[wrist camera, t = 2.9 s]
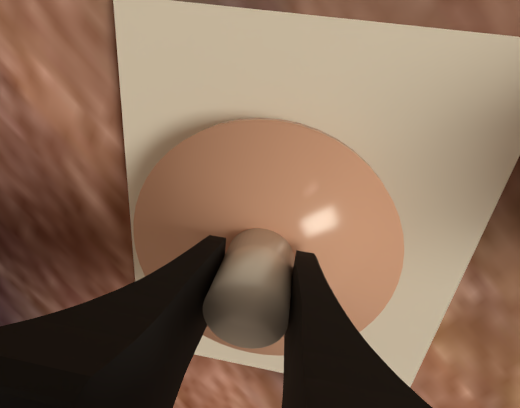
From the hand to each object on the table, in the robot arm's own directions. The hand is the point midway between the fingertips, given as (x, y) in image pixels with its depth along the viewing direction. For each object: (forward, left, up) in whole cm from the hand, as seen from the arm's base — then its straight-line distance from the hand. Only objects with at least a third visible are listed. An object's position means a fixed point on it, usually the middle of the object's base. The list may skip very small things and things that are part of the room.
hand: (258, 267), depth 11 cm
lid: (0, 0, -1) cm, 1 cm away
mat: (0, -1, -3) cm, 3 cm away
